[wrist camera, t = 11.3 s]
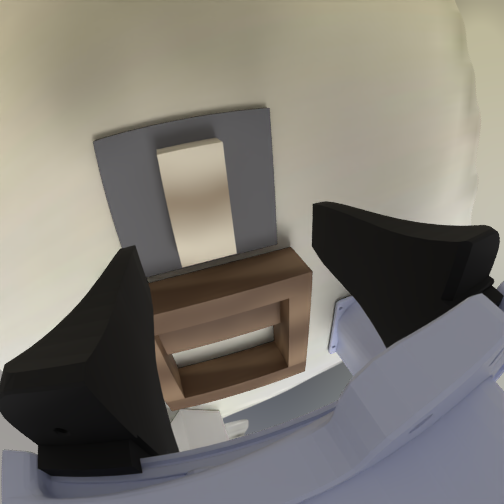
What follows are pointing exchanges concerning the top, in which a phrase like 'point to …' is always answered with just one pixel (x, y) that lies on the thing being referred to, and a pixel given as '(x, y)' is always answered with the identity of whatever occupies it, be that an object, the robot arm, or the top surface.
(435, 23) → the top surface
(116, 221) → the charcoal mat
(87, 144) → the top surface
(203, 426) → the milk
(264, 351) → the walnut frame
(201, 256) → the birch tile
